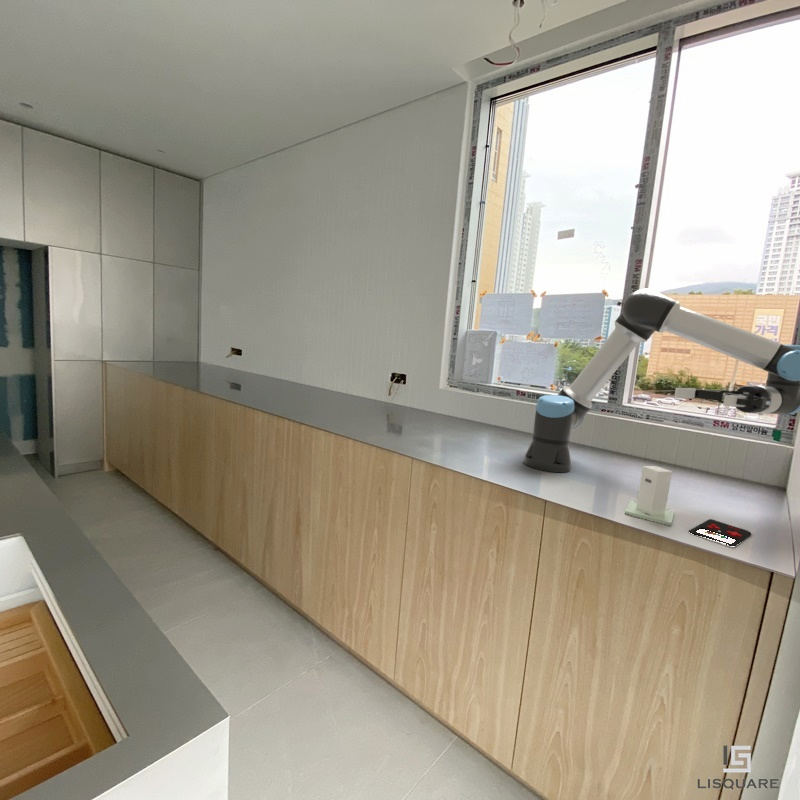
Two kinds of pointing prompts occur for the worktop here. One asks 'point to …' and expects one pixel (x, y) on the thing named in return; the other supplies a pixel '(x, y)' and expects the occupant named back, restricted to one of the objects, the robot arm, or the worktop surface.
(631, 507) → the outlet plate
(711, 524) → the handheld gaming device
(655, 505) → the block
